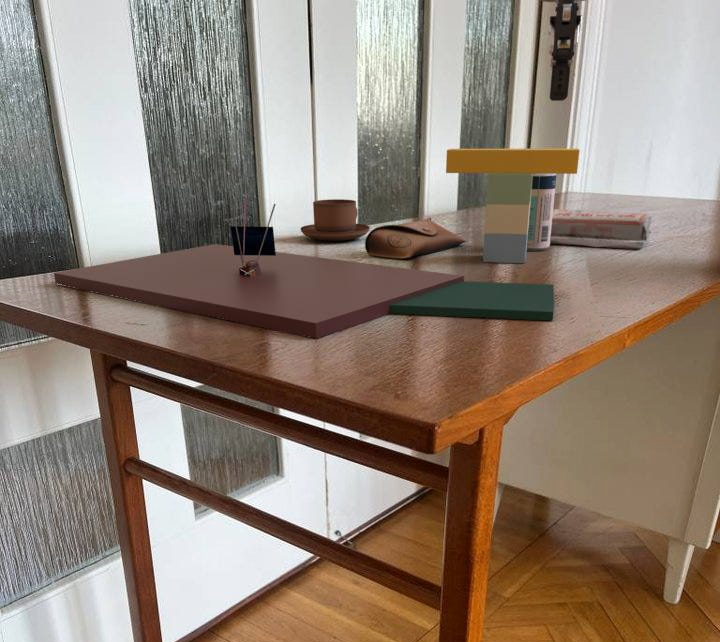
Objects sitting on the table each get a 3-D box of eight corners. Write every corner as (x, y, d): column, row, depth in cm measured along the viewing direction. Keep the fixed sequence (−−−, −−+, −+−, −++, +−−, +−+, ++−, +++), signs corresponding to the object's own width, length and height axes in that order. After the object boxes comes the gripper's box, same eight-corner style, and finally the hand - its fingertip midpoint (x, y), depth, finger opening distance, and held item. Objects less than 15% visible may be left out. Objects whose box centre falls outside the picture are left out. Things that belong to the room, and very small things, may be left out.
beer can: (550, 246, 121) (557, 166, 116) (548, 251, 117) (556, 168, 112) (519, 246, 123) (526, 166, 117) (517, 250, 118) (523, 168, 113)
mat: (552, 292, 91) (553, 284, 91) (552, 321, 79) (553, 311, 79) (375, 286, 96) (375, 278, 95) (349, 312, 84) (349, 303, 83)
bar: (576, 171, 107) (578, 148, 105) (576, 173, 103) (579, 149, 102) (449, 171, 110) (450, 148, 109) (445, 173, 107) (446, 150, 106)
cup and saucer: (315, 233, 138) (314, 197, 135) (378, 235, 135) (378, 198, 132) (290, 243, 128) (288, 204, 125) (357, 245, 125) (356, 206, 122)
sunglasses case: (410, 257, 111) (391, 214, 110) (377, 277, 116) (358, 237, 115) (469, 241, 124) (453, 203, 123) (437, 260, 129) (421, 223, 128)
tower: (526, 256, 114) (533, 170, 109) (524, 263, 109) (532, 174, 103) (486, 255, 115) (491, 170, 110) (482, 262, 110) (488, 173, 105)
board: (55, 284, 99) (40, 202, 94) (215, 254, 119) (209, 185, 114) (316, 338, 74) (312, 230, 69) (463, 288, 94) (467, 201, 89)
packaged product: (655, 210, 123) (648, 218, 115) (651, 241, 125) (643, 250, 117) (546, 206, 130) (531, 212, 122) (543, 235, 133) (529, 243, 125)
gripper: (606, -59, 87) (589, 99, 94) (599, -38, 99) (584, 100, 106) (540, -55, 88) (528, 100, 95) (540, -35, 101) (530, 101, 108)
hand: (557, 100), depth 101 cm, fingers open, 8 cm apart
